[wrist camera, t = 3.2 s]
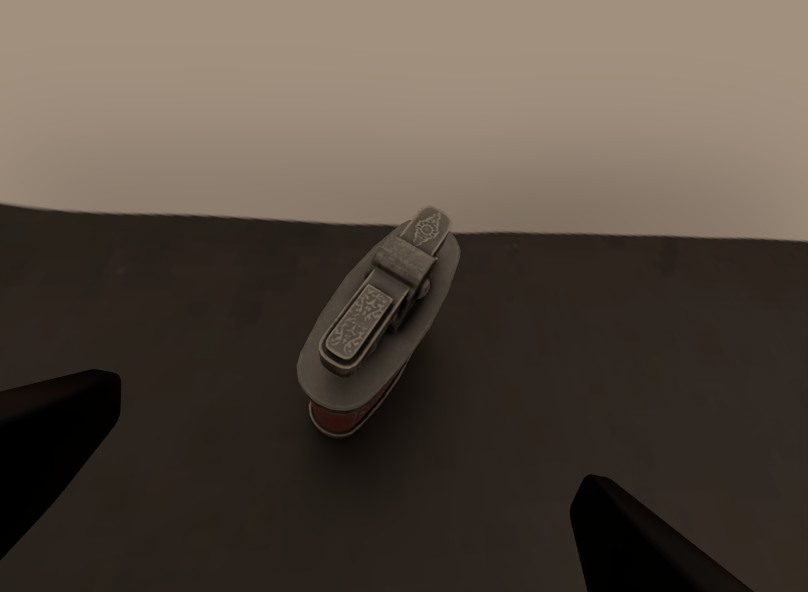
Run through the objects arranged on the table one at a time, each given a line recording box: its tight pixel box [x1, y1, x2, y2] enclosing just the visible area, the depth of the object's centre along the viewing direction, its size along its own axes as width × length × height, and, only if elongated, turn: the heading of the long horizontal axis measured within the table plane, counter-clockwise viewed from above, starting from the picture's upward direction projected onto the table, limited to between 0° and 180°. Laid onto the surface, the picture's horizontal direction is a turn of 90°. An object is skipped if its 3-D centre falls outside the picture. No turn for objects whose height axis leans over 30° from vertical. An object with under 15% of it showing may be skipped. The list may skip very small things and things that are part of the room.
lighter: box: [297, 206, 460, 439], centre depth 15 cm, size 8×3×10 cm, turn 149°
